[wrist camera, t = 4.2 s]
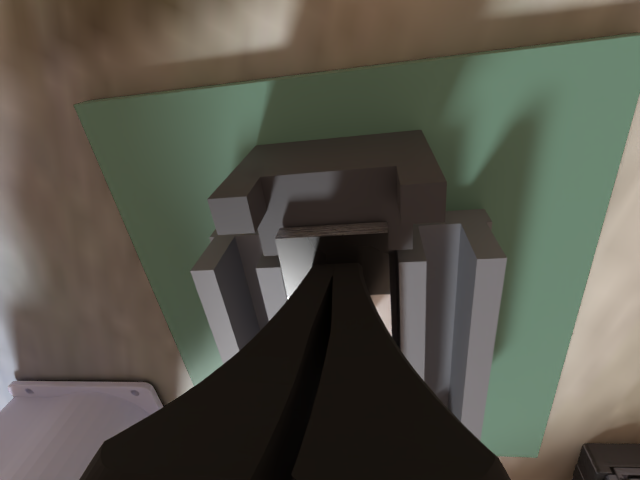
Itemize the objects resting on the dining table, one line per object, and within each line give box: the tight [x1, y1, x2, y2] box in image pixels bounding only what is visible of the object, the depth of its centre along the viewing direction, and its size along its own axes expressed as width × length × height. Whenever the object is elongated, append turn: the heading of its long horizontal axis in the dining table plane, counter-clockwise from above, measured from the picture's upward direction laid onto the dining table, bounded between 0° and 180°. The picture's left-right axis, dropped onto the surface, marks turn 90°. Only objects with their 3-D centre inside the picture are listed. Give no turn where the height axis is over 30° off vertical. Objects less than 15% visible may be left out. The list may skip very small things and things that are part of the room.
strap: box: [275, 222, 392, 336], centre depth 14 cm, size 3×14×1 cm, turn 7°
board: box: [74, 33, 640, 458], centre depth 15 cm, size 18×20×5 cm
